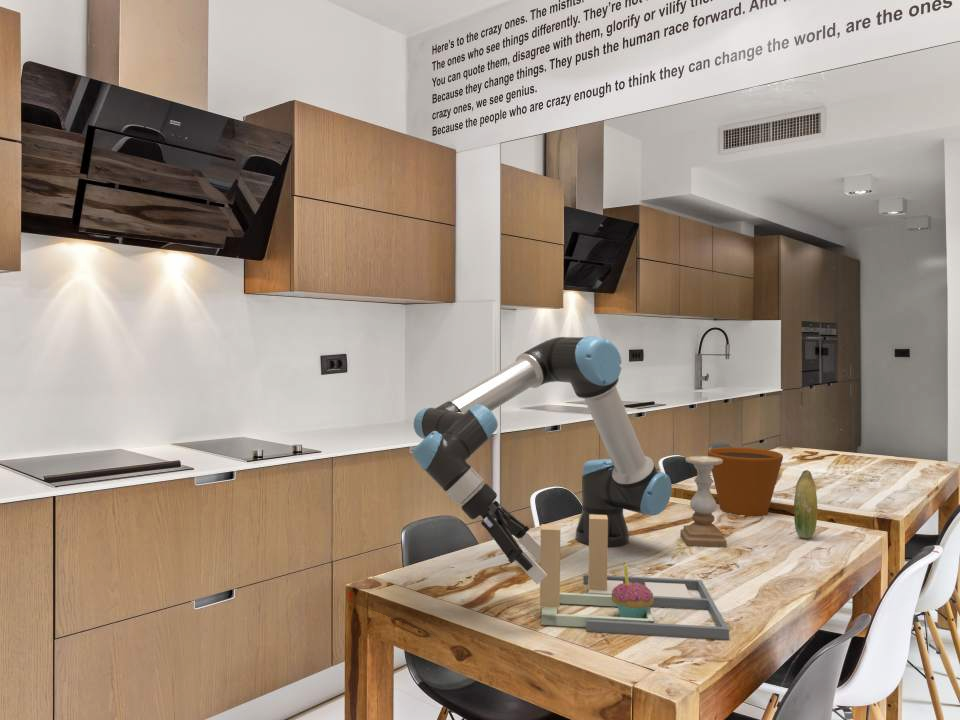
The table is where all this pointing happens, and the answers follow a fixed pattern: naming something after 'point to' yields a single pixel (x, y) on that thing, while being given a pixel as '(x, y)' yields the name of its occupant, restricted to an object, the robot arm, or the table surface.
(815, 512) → the vegetable
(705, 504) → the candle holder
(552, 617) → the pale green frame
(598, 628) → the board
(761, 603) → the table surface
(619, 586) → the cupcake
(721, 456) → the flower pot
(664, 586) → the broken strip
